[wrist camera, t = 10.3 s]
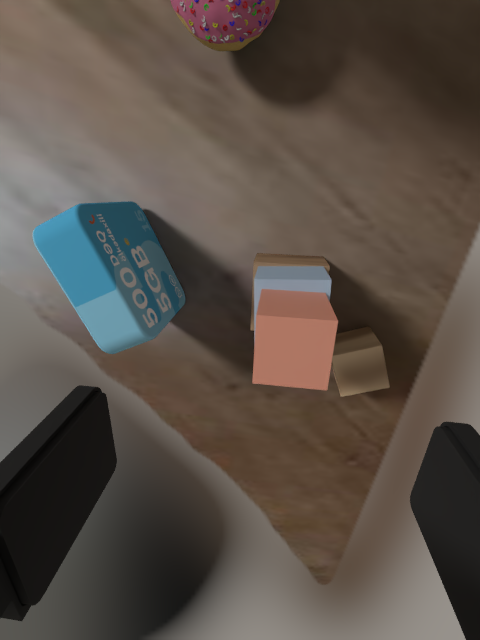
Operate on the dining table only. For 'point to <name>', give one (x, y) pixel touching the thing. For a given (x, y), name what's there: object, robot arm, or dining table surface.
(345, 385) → the block
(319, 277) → the tower top
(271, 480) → the dining table surface
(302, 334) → the salmon orange block
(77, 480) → the robot arm
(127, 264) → the data package
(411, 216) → the dining table surface
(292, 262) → the tower base
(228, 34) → the cupcake
